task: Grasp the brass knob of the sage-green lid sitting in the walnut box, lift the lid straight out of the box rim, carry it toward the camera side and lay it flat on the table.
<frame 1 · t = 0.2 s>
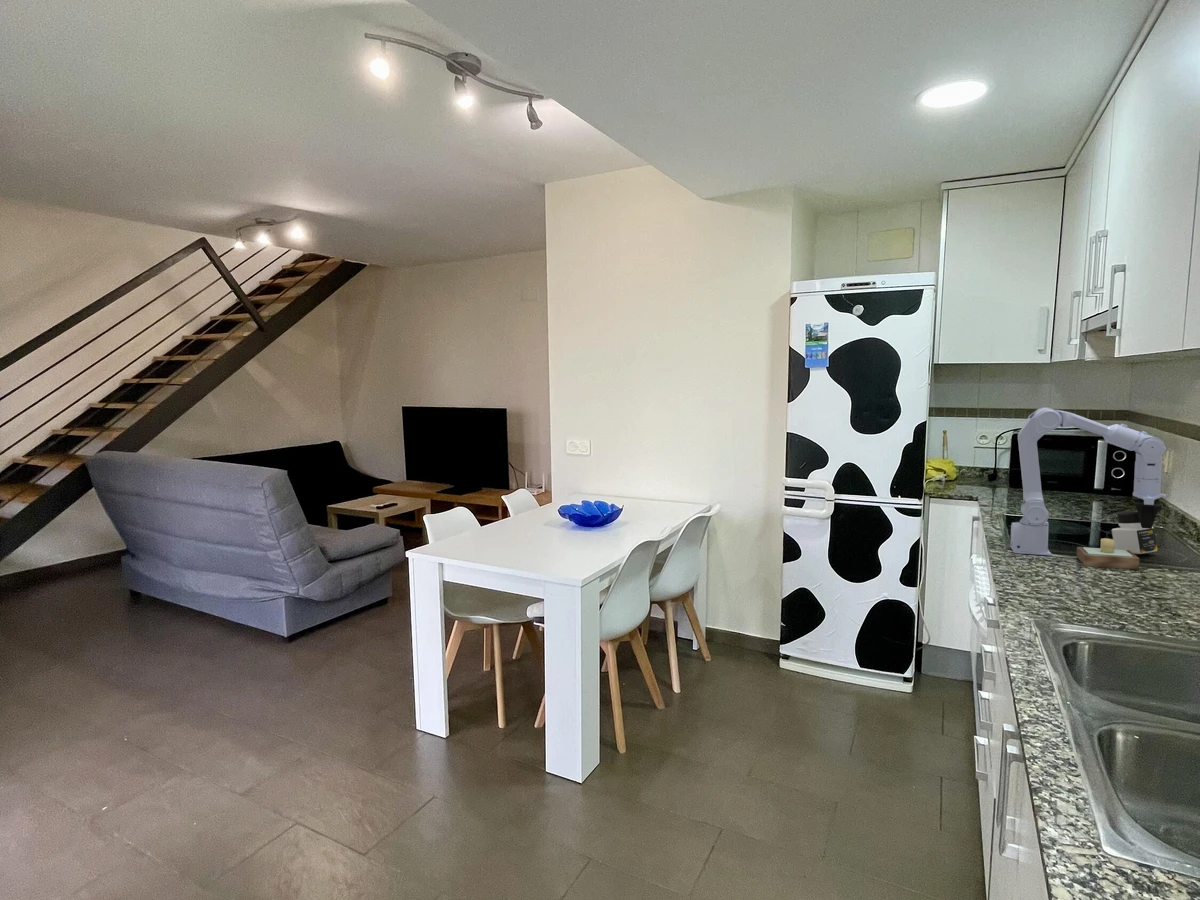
hand: (1145, 525, 177), 10 cm above the counter, fingers open, 7 cm apart
medicine bottle: (1136, 552, 184), on the counter
box: (1106, 563, 176), on the counter
lid: (1107, 555, 176), point 2 cm above the counter, touching box
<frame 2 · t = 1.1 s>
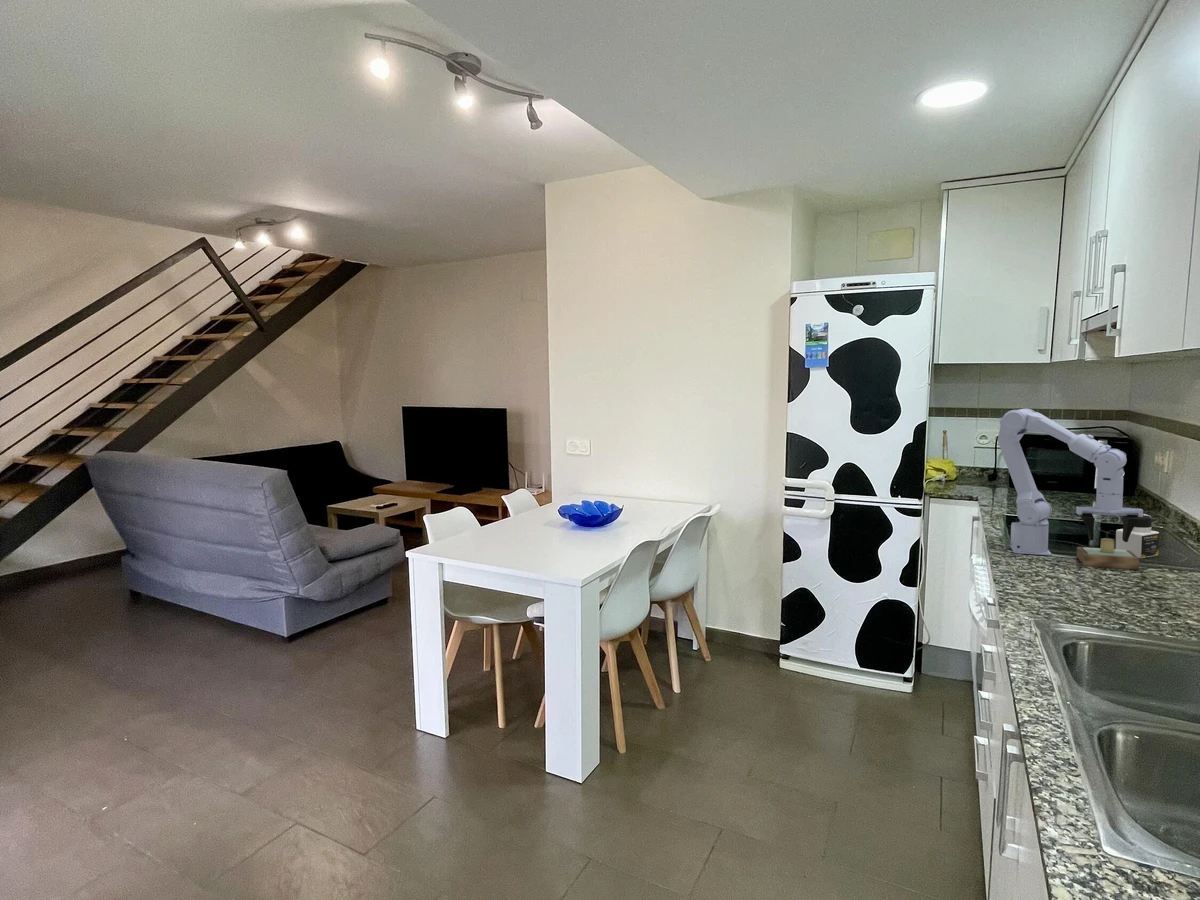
hand: (1107, 540, 175), 7 cm above the counter, fingers open, 7 cm apart
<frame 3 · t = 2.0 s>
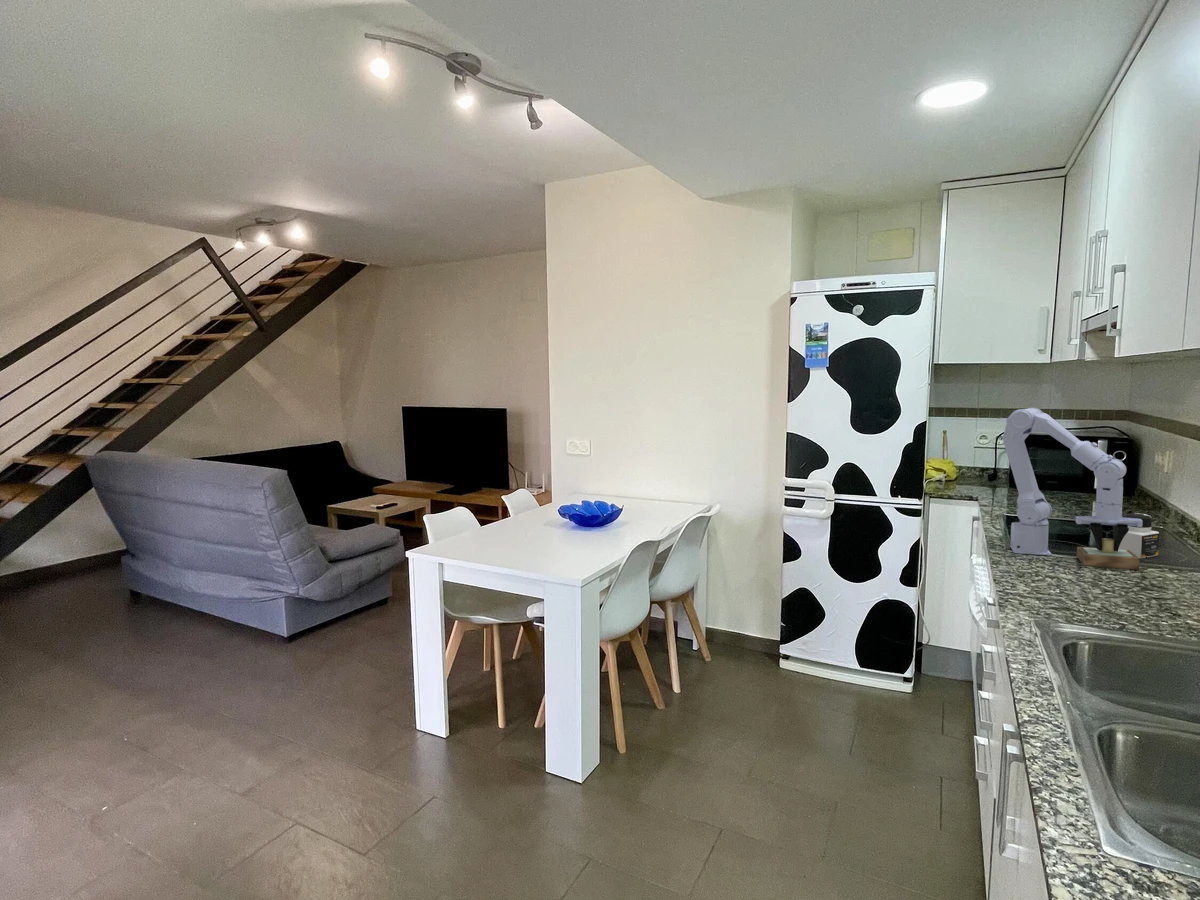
hand: (1107, 550, 176), 4 cm above the counter, fingers closed on lid, 3 cm apart
lid: (1107, 555, 176), point 2 cm above the counter, touching box, gripper
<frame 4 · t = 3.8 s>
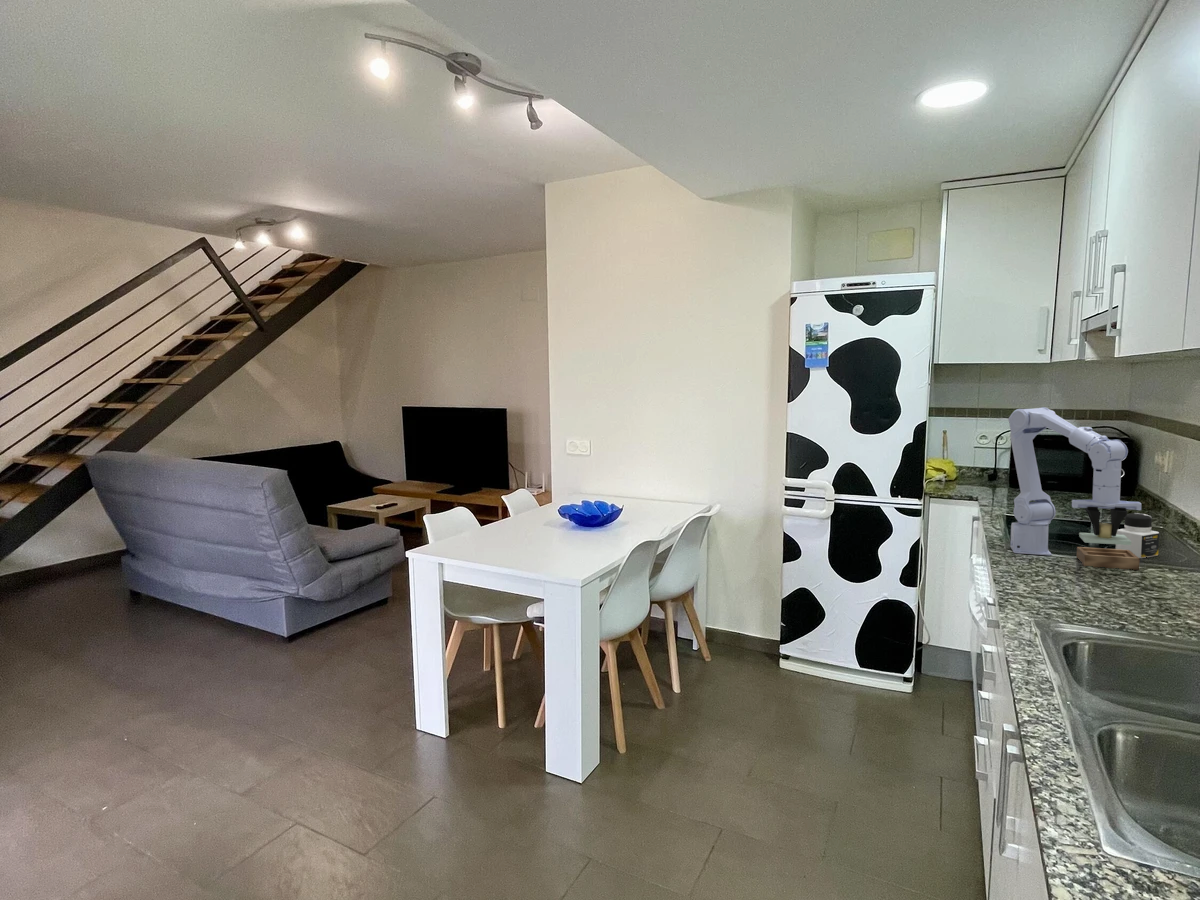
hand: (1104, 534, 168), 10 cm above the counter, fingers closed on lid, 3 cm apart
lid: (1104, 540, 168), point 9 cm above the counter, touching gripper
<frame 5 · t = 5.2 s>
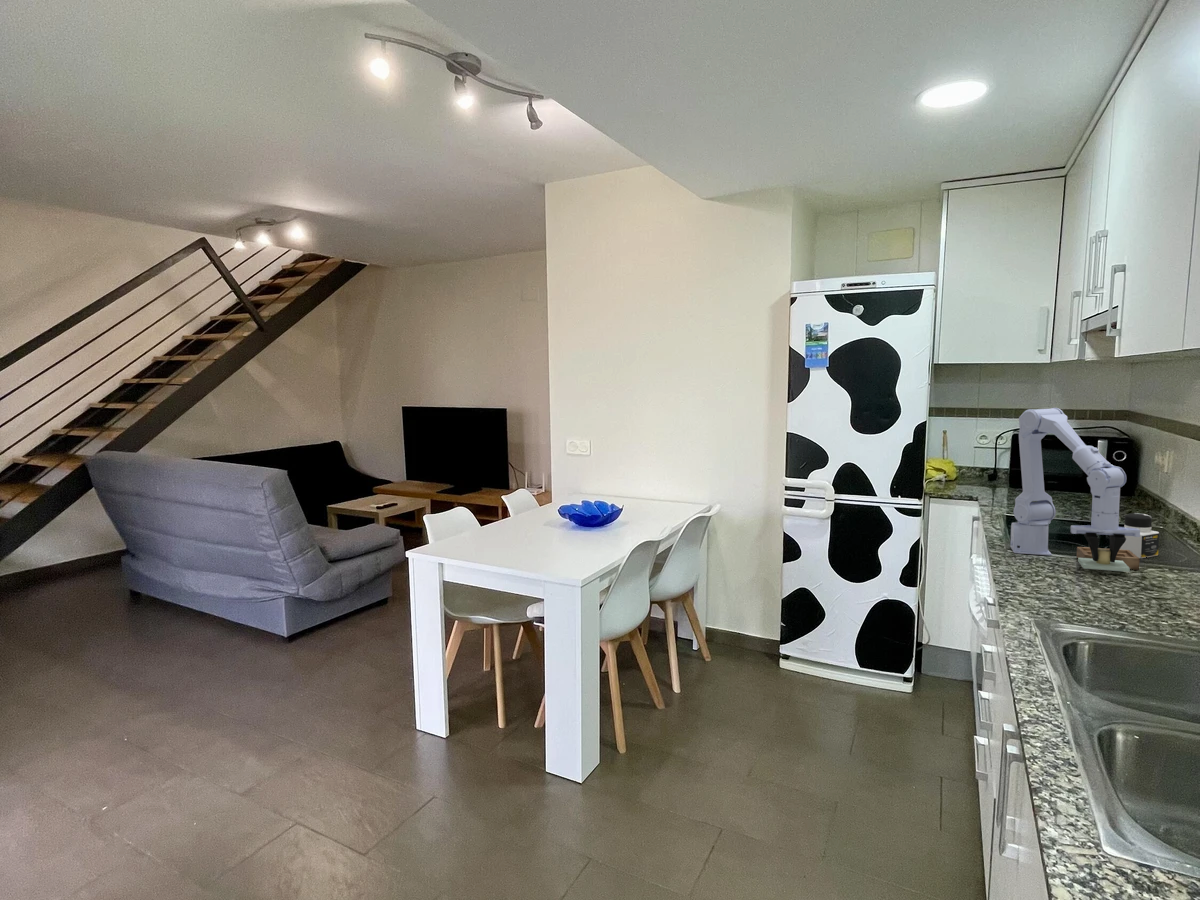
hand: (1103, 560, 169), 3 cm above the counter, fingers closed on lid, 3 cm apart
lid: (1103, 566, 169), point 2 cm above the counter, touching gripper
when the fingers open (3 cm above the counter, at t = 5.9 s): lid drops 2 cm, on the counter.
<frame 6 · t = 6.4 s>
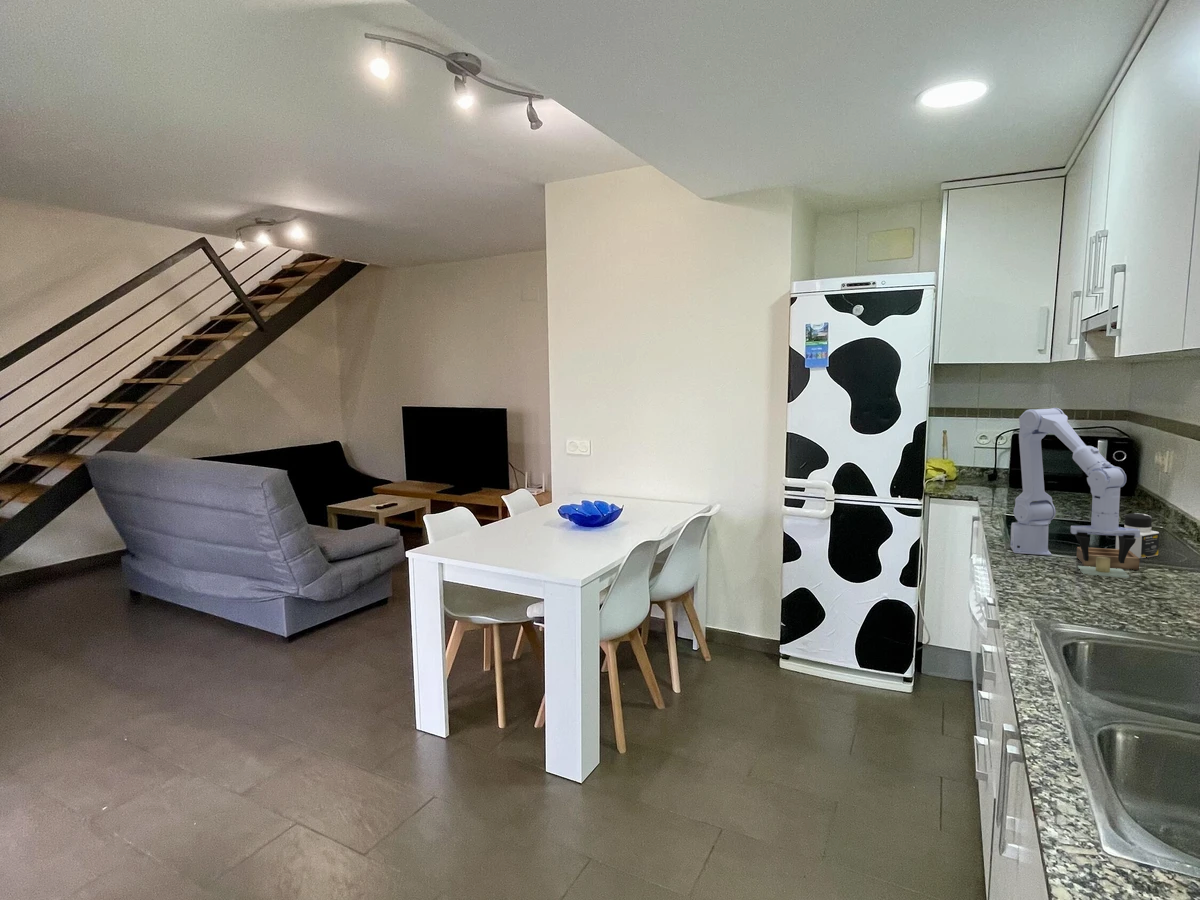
hand: (1103, 561, 169), 3 cm above the counter, fingers open, 7 cm apart
lid: (1102, 574, 169), on the counter
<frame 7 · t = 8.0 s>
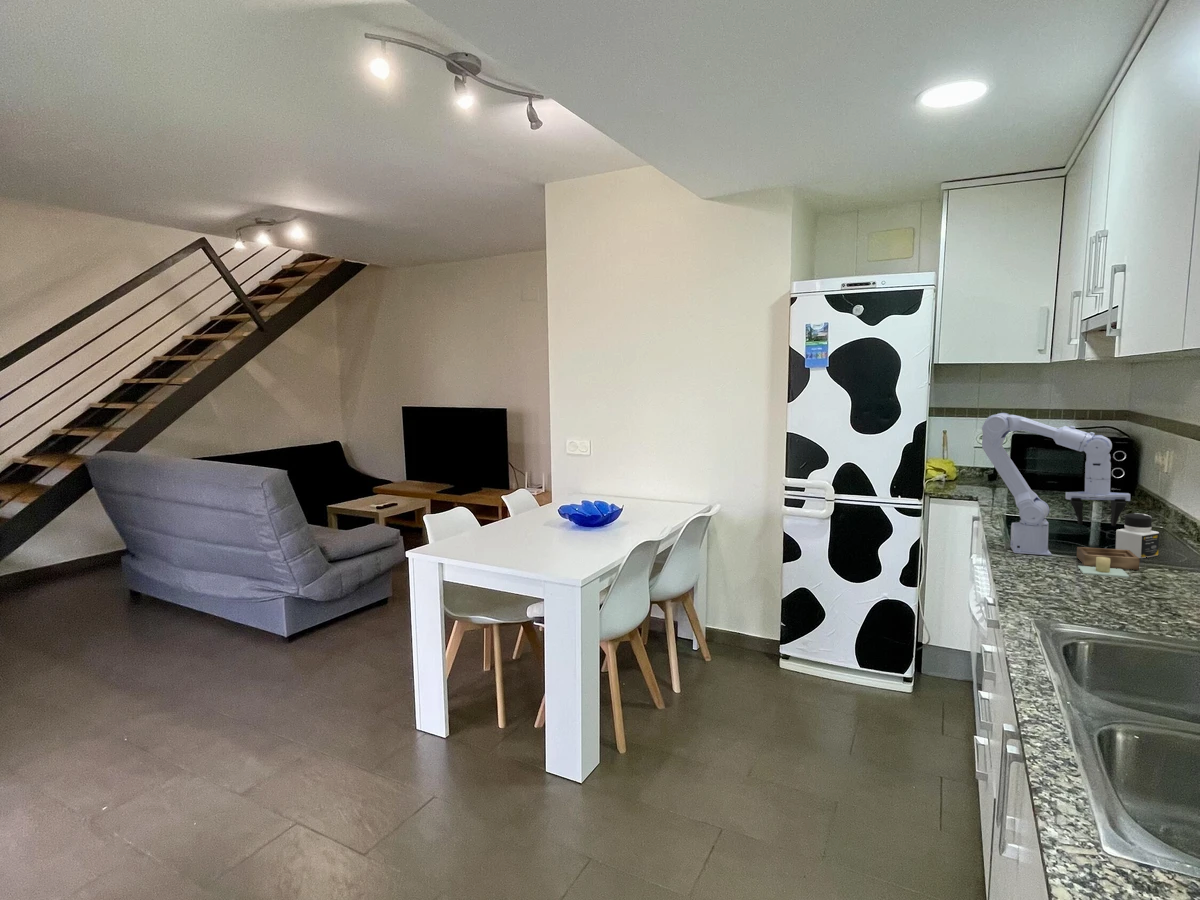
hand: (1096, 524, 179), 10 cm above the counter, fingers open, 7 cm apart
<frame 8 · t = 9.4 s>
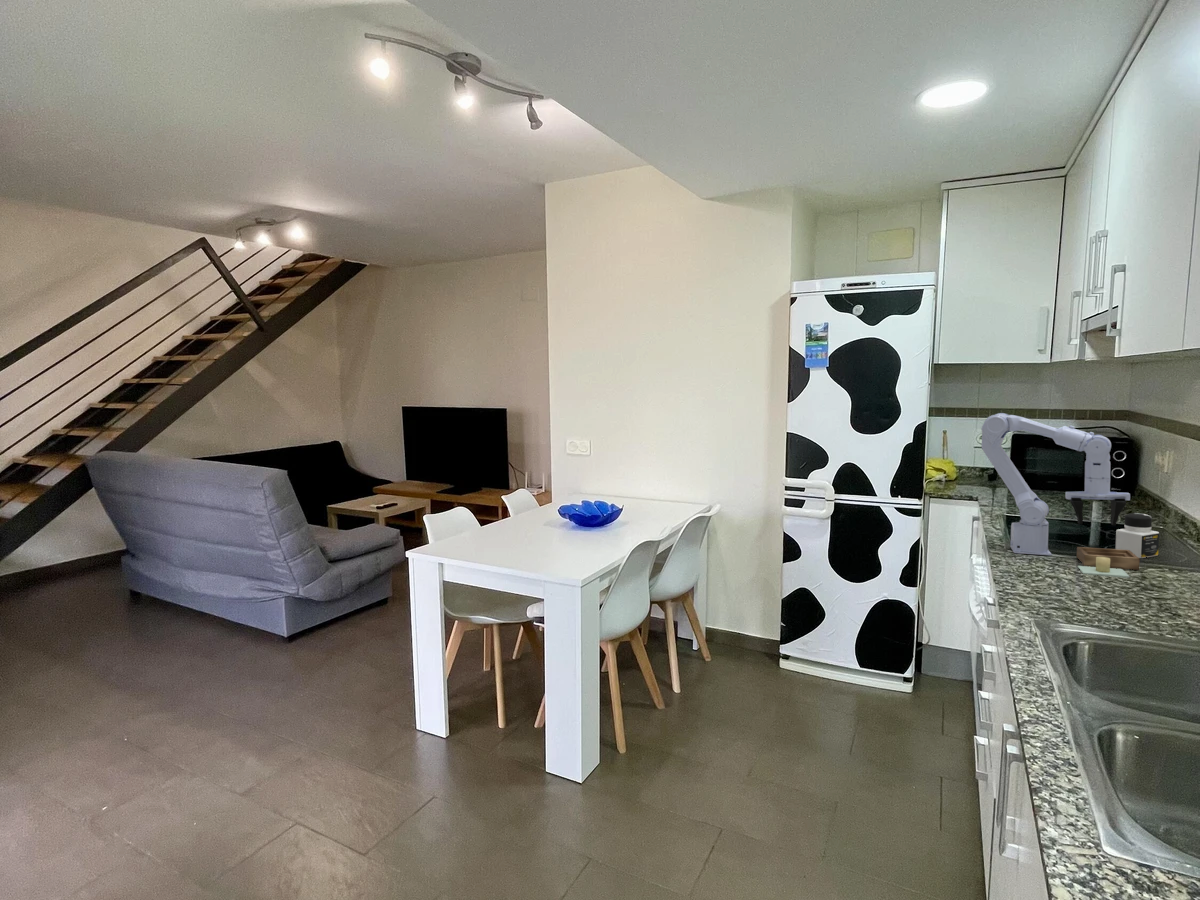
hand: (1096, 524, 180), 10 cm above the counter, fingers open, 7 cm apart
at the end: lid inside the target area (0.2 cm from its centre), on the counter; lid tilted 0°; the gripper is holding nothing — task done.
